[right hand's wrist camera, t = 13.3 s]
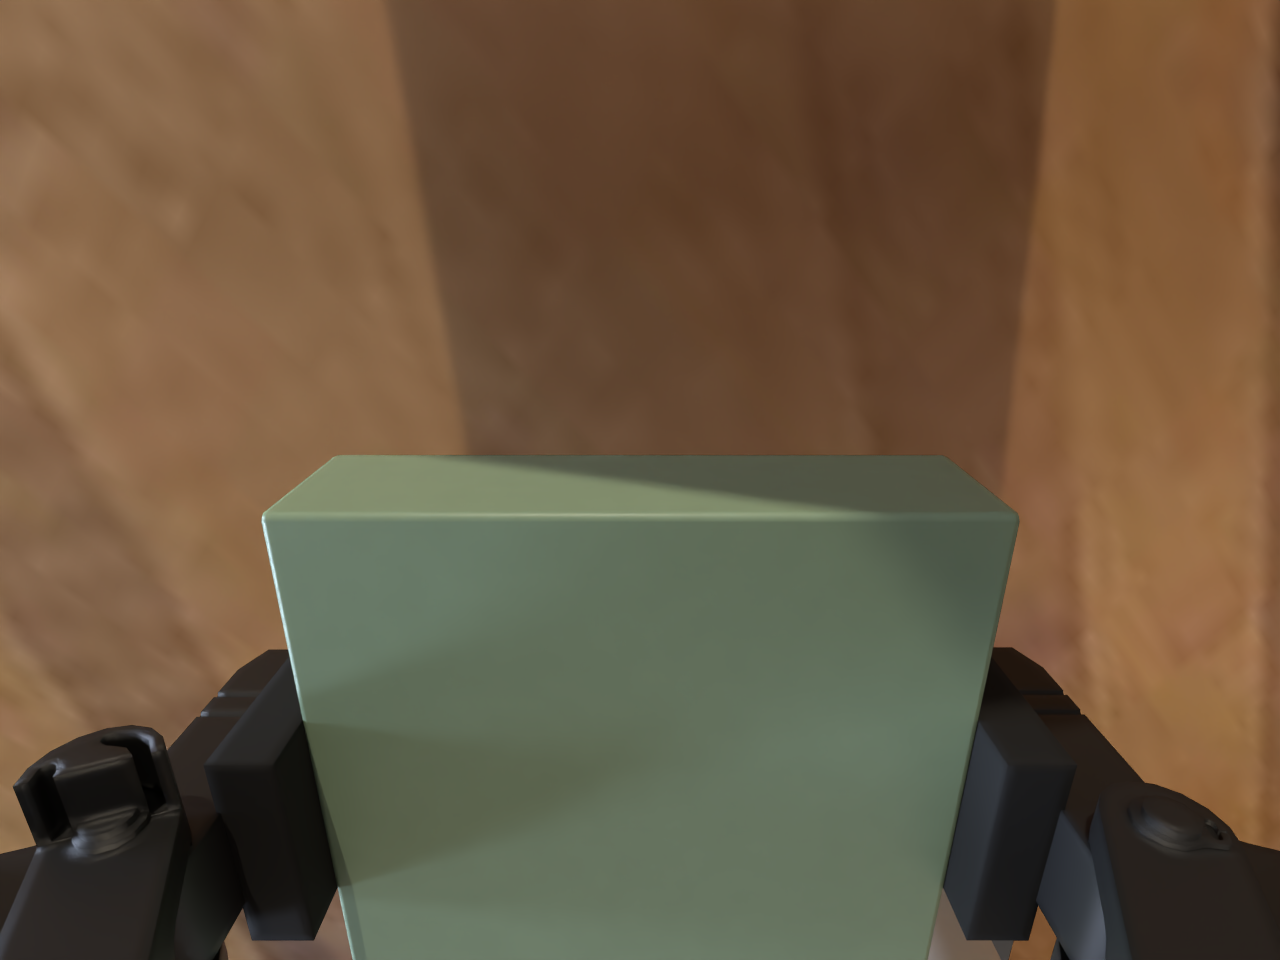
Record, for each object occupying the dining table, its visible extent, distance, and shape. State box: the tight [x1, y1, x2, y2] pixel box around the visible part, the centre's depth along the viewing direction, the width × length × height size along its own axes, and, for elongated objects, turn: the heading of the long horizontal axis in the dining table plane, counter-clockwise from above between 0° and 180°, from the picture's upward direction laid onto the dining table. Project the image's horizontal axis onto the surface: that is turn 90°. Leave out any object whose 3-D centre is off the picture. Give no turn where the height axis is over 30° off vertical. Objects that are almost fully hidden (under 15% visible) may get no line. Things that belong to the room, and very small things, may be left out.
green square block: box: [262, 455, 1019, 960], centre depth 11 cm, size 8×8×4 cm
